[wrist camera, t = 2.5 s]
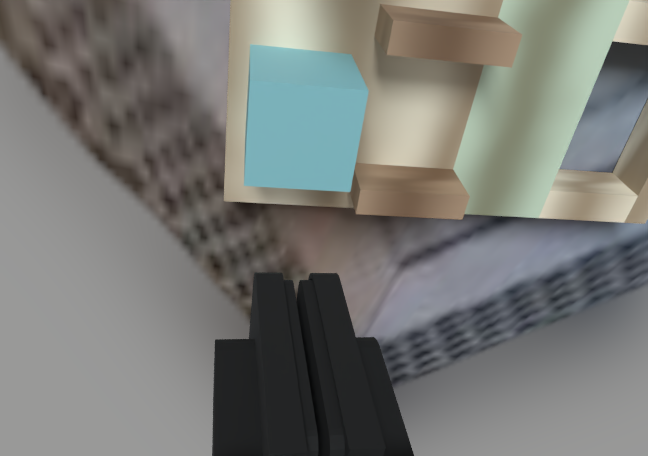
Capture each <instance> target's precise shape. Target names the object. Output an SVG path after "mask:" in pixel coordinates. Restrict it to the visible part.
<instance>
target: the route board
mask: <svg viewBox="0 0 648 456" xmlns="http://www.w3.org/2000/svg"><path fill="white" fill-rule="evenodd" d="M612 41H614V42H623V43H632V44H641V45H648V0H231V4H230V34H229V64H228V94H227V123H226V153H225V183H224V201H231V202H249V203H268V204H287V205H305V206H324V207H343V208H354V209H355V213H356V214H363V215H382V216H401V217H421V218H440V219H459V220H462V219H463V216H464V214H473V215H492V216H510V217H529V218H548V219H566V220H585V221H604V222H622V223H641V224H645V222H646V221H647V219H648V100H647V102H646V104H645V106H644V108H643V110H642V112H641V114H640V116H639V118H638V121H637V123H636V125H635V127H634V129H633V131H632V133H631V135H630V137H629V139H628V141H627V143H626V146H625V148H624V150H623V152H622V154H621V156H620V158H619V160H618V162H617V164H616V166H615V168H614V170H613V173H606V172H592V171H577V170H563V169H559V168H560V166H561V163H562V161H563V158H564V156H565V154H566V151H567V149H568V146H569V144H570V142H571V139H572V137H573V134H574V132H575V130H576V127H577V125H578V122H579V120H580V118H581V115H582V113H583V110H584V108H585V106H586V103H587V101H588V98H589V96H590V94H591V91H592V89H593V87H594V84H595V82H596V79H597V77H598V75H599V72H600V70H601V67H602V65H603V63H604V60H605V58H606V55H607V53H608V51H609V48H610V46H611V43H612ZM250 44H253V45H263V46H273V47H283V48H293V49H303V50H313V51H323V52H333V53H343V54H351V55H352V57H353V59H354V61H355V63H356V65H357V67H358V69H359V71H360V73H361V76H362V78H363V80H364V82H365V84H366V86H367V88H368V90H369V92H368V98H367V103H366V109H365V114H364V120H363V125H362V131H361V136H360V142H359V147H358V153H357V158H356V164H355V169H354V175H353V180H352V186H351V191H350V192H340V191H323V190H306V189H289V188H271V187H254V186H244V161H245V130H246V112H247V94H248V75H249V57H250Z"/></svg>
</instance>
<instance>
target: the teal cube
mask: <svg viewBox="0 0 648 456" xmlns="http://www.w3.org/2000/svg"><path fill="white" fill-rule="evenodd" d="M368 92H369V90H368V88H367V86H366V84H365V82H364V80H363V78H362V76H361V73H360V71H359V69H358V67H357V65H356V63H355V61H354V59H353V57H352V55H351V54H343V53H333V52H323V51H313V50H303V49H293V48H283V47H273V46H263V45H253V44H250V57H249V75H248V94H247V112H246V130H245V161H244V186H254V187H271V188H289V189H306V190H323V191H340V192H350V191H351V186H352V180H353V175H354V169H355V164H356V158H357V153H358V147H359V142H360V136H361V131H362V125H363V120H364V114H365V109H366V103H367V98H368Z"/></svg>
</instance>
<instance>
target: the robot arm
mask: <svg viewBox="0 0 648 456" xmlns="http://www.w3.org/2000/svg"><path fill="white" fill-rule="evenodd" d="M212 456H414V454H413V451H412V448H411V445H410V441H409V438H408V435H407V432H406V429H405V425H404V422H403V419H402V416H401V413H400V410H399V407H398V403H397V401H396V397H395V394H394V391H393V387H392V384H391V381H390V378H389V375H388V372H387V368H386V365H385V362H384V359H383V356H382V353H381V349H380V346H379V344H378V342H377V340H376V339H375V338H374V337H363V338H356V337H355V333H354V329H353V326H352V322H351V318H350V315H349V311H348V307H347V304H346V300H345V296H344V293H343V289H342V285H341V282H340V278H339V275H338V274H337V273H311V274H310V275H309V279H308V280H300V282H299V287H298V294H297V301H296V297H295V290H294V284H293V281H292V280H283V274H282V273H255V274H254V282H253V295H252V307H251V320H250V333H249V339H232V340H231V339H227V340H226V339H225V340H215V358H214V397H213V447H212Z"/></svg>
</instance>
